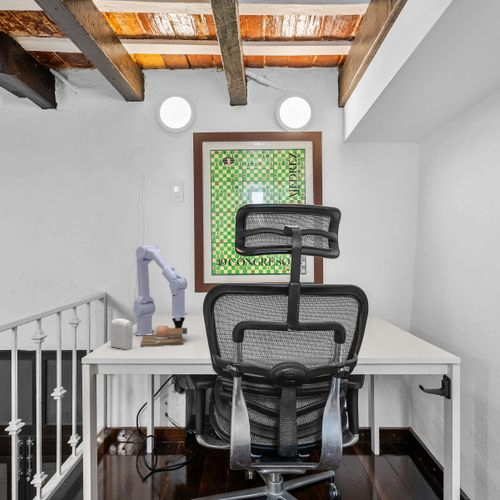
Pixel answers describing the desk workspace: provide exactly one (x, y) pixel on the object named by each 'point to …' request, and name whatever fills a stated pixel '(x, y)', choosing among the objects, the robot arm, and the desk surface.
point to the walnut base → (162, 340)
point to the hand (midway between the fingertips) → (178, 333)
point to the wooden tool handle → (169, 331)
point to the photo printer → (121, 334)
